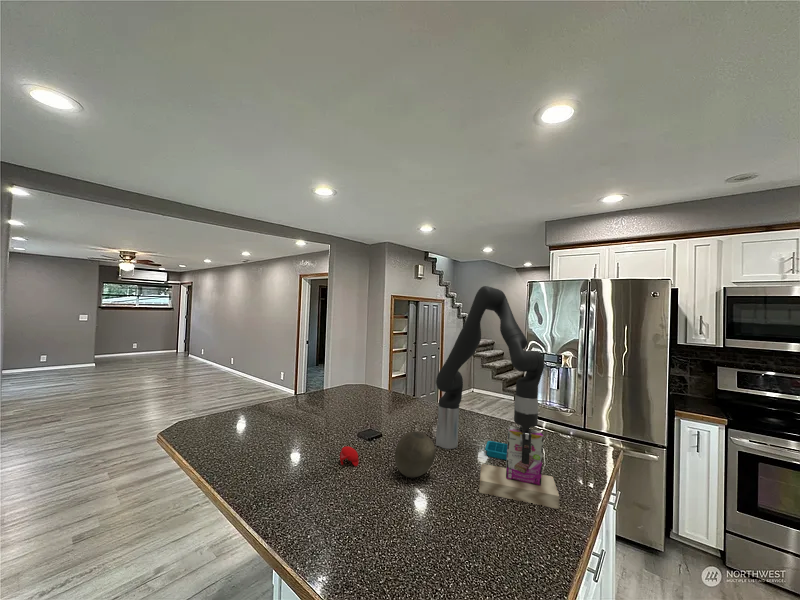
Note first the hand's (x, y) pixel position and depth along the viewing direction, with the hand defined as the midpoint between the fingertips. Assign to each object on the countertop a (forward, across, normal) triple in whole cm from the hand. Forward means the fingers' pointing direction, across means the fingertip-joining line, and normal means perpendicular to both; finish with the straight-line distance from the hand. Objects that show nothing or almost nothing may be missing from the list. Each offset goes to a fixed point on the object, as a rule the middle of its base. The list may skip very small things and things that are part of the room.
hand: (524, 458), depth 110 cm
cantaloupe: (+11, +4, -37) cm, 39 cm away
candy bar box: (+7, 0, 0) cm, 7 cm away
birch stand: (+11, 0, -2) cm, 11 cm away
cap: (+11, +5, -62) cm, 63 cm away
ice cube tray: (+12, -29, -3) cm, 31 cm away
